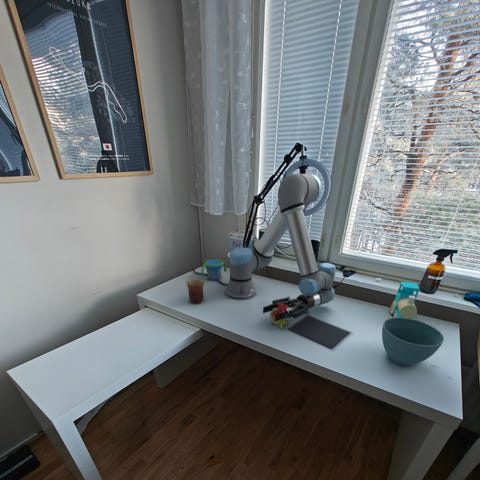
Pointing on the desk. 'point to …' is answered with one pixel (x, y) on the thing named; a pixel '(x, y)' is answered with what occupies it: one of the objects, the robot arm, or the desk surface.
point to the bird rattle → (277, 311)
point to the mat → (319, 331)
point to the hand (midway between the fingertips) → (269, 314)
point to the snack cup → (214, 269)
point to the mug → (195, 290)
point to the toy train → (405, 301)
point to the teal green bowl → (410, 340)
